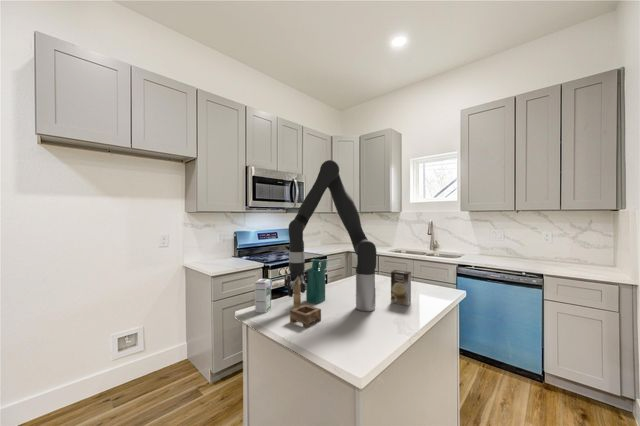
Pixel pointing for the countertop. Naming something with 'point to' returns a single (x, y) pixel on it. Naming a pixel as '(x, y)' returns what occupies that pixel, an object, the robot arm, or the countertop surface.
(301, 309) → the brown wooden square frame
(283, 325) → the countertop surface
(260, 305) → the syrup box
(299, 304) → the rod
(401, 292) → the coffee box
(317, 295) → the teal bottle
